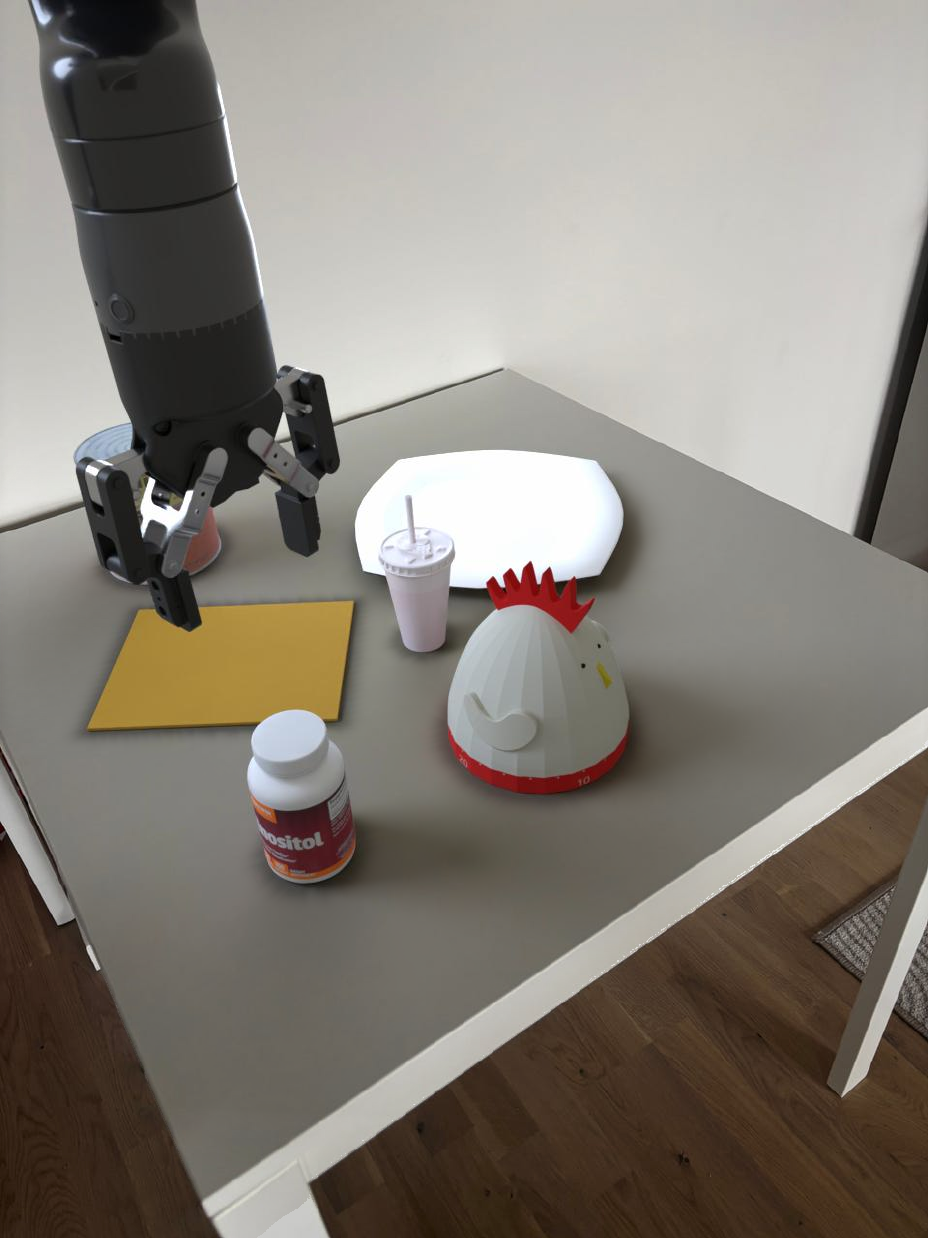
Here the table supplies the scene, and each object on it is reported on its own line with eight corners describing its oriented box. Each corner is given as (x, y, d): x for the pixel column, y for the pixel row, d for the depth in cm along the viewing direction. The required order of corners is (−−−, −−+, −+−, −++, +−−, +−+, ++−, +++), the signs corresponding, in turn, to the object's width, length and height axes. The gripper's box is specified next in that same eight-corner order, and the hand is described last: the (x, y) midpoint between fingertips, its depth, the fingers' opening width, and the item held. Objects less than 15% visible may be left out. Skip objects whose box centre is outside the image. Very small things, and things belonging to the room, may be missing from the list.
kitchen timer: (576, 820, 68) (582, 653, 59) (413, 752, 74) (396, 590, 65) (656, 703, 77) (671, 543, 68) (505, 651, 83) (501, 498, 74)
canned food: (90, 584, 94) (53, 474, 87) (131, 524, 103) (100, 419, 96) (202, 585, 93) (174, 474, 86) (234, 524, 102) (211, 419, 95)
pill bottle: (250, 876, 65) (218, 759, 58) (291, 809, 70) (265, 693, 63) (335, 897, 63) (312, 779, 57) (371, 826, 68) (353, 710, 61)
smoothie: (435, 608, 88) (425, 472, 80) (474, 643, 84) (468, 503, 76) (374, 634, 86) (357, 495, 77) (411, 672, 81) (397, 529, 73)
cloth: (87, 731, 77) (86, 728, 77) (139, 612, 90) (138, 609, 90) (337, 721, 77) (337, 718, 77) (354, 603, 90) (353, 600, 90)
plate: (380, 464, 111) (379, 448, 110) (618, 465, 109) (619, 449, 107) (333, 601, 90) (331, 584, 89) (627, 607, 87) (629, 589, 86)
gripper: (244, 243, 51) (294, 512, 60) (-7, 329, 42) (98, 626, 52) (347, 265, 47) (382, 549, 56) (93, 365, 38) (186, 679, 48)
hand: (246, 585), depth 54 cm, fingers open, 8 cm apart
